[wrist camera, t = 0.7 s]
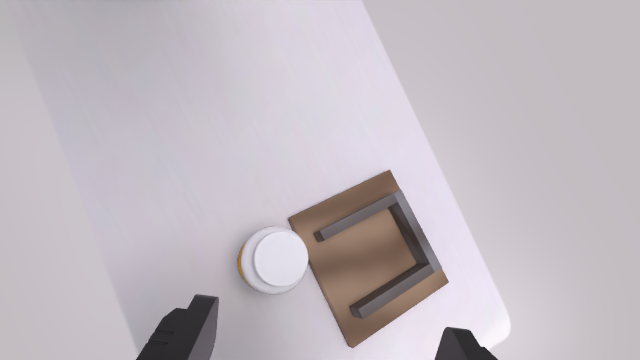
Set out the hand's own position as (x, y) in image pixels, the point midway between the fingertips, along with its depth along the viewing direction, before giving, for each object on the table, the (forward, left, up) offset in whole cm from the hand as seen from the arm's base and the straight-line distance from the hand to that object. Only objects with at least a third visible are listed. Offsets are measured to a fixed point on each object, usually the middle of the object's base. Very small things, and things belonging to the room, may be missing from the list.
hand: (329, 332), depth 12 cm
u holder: (+2, +12, -22) cm, 25 cm away
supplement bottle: (-2, +2, -22) cm, 23 cm away
